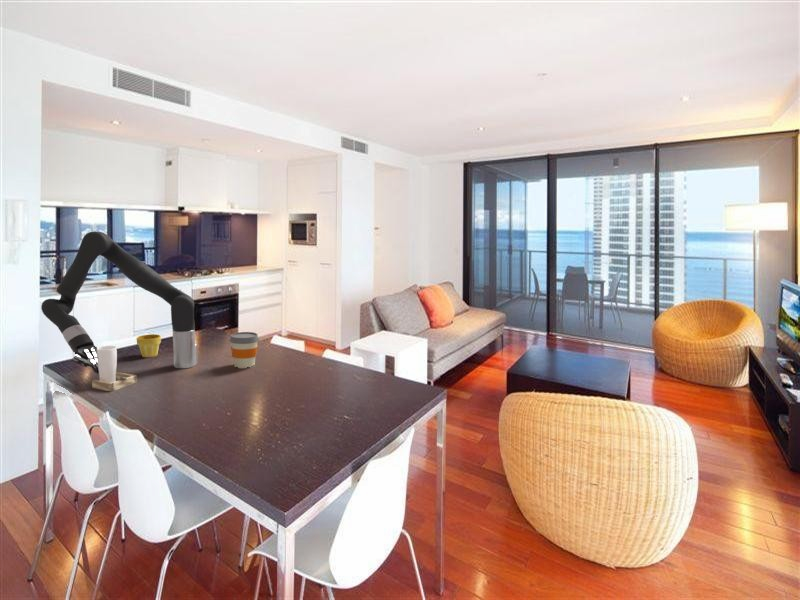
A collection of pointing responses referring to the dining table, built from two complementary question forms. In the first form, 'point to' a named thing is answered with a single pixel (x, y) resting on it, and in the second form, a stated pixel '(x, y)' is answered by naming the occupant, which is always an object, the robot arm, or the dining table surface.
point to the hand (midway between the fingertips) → (100, 372)
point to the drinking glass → (107, 363)
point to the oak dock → (122, 382)
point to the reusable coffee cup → (244, 348)
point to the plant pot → (149, 344)
